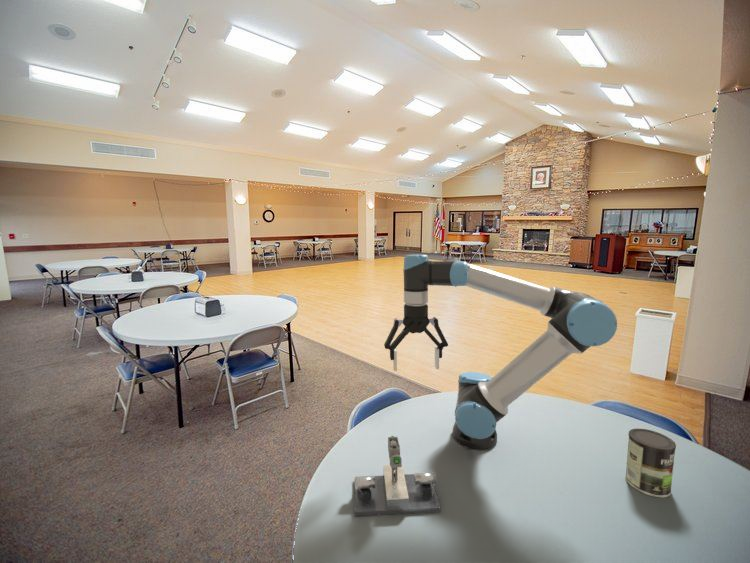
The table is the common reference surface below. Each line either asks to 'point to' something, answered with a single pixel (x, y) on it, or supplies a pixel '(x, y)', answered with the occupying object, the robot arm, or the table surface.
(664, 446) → the coffee can
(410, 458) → the table surface
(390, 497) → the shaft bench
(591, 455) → the table surface
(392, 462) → the mechanical component
